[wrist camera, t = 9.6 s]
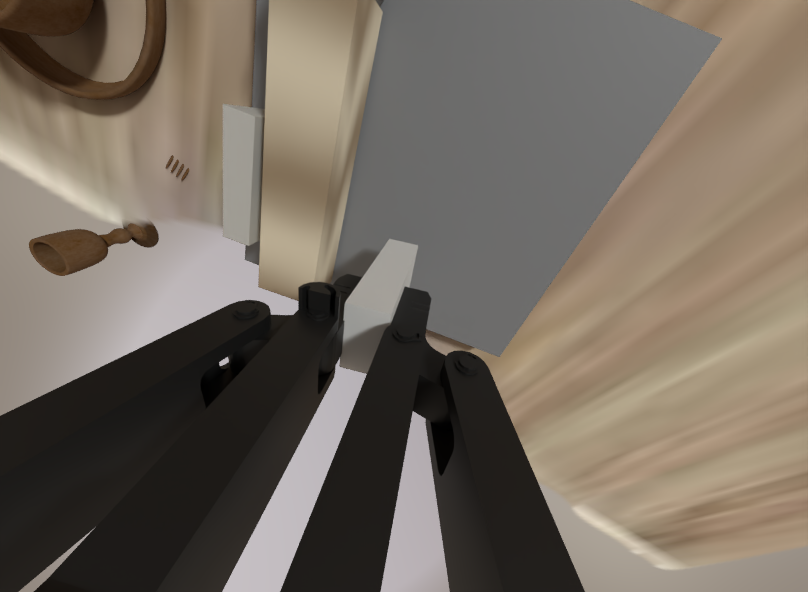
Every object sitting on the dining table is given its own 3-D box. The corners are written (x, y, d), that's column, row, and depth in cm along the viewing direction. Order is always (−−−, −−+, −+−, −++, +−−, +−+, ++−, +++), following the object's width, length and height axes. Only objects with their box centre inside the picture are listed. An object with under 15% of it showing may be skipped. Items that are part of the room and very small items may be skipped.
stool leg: (319, -113, 10) (268, -200, 8) (403, -83, 10) (382, -160, 8) (285, 264, 18) (254, 288, 16) (333, 281, 18) (310, 307, 16)
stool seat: (262, 249, 21) (211, 279, 16) (291, -110, 12) (198, -244, 8) (496, 338, 21) (505, 391, 17) (685, 51, 12) (804, 8, 8)
